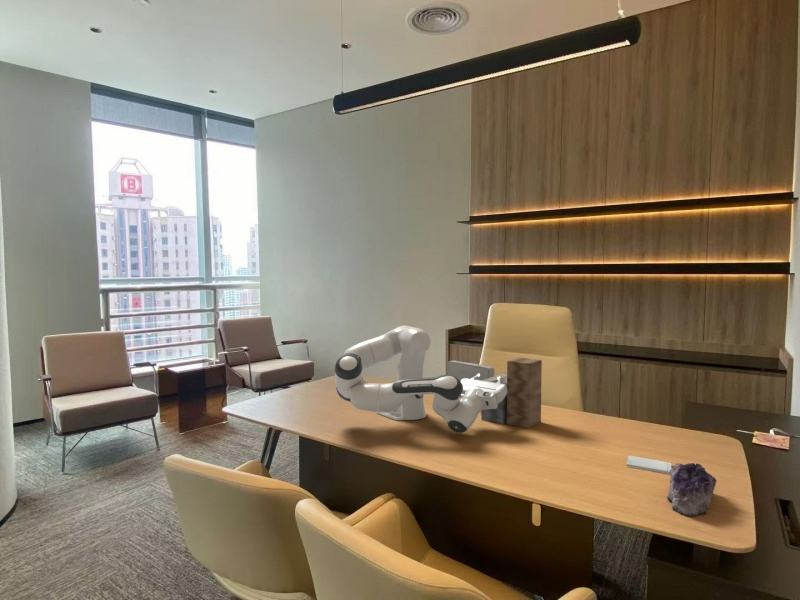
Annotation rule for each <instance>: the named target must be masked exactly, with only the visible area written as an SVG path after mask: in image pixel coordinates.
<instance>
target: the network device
mask: <svg viewBox="0 0 800 600" xmlns="http://www.w3.org/2000/svg"><path fill="white" fill-rule="evenodd" d="M477 374H481V376H482V378H481V379H480V380H481V381H482V380H485V379H488V378H491V377H494V376H495V368H494V367H493V366H490V365H485V364H478V363H473V362H472V363H471V362H465V361H459V360H455V359H454V360H449V361H447V362H446V375H452V376H455V377H456V378H458V379H459V380H460V381H461V380H462V379H463V378H468V379H471V378H473V377H475V376H476V375H477ZM478 380H479V379H478ZM460 398H462V397H460Z"/></svg>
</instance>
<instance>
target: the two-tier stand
mask: <svg viewBox="0 0 800 600" xmlns="http://www.w3.org/2000/svg"><path fill="white" fill-rule="evenodd" d="M506 365H507V366H506V370H507V371H506V374H507V386H506V387H507V390H508V392H507V395H506V396H505V398H504V399H503V400H502V401H501V402H500V403H498V407H497V408H496V409H487V410H482V411H481V412H480V413H481V414H480V415H481V417H480V418H481V420H483V421H486V422H491V423H496V424H499V425H500V424H501V425H504V424H507V425H511V426H516V427H521V428H525V429H531V428H533V427H535V426H537V425H539V424H540V423H541V422H542V371H543V370H542V368H543V367H542V365H543V364H542V359H535V358H525V357H516V358H514V359H513V358H512V359H510V360H507V362H506ZM538 423H539V424H538Z"/></svg>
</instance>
